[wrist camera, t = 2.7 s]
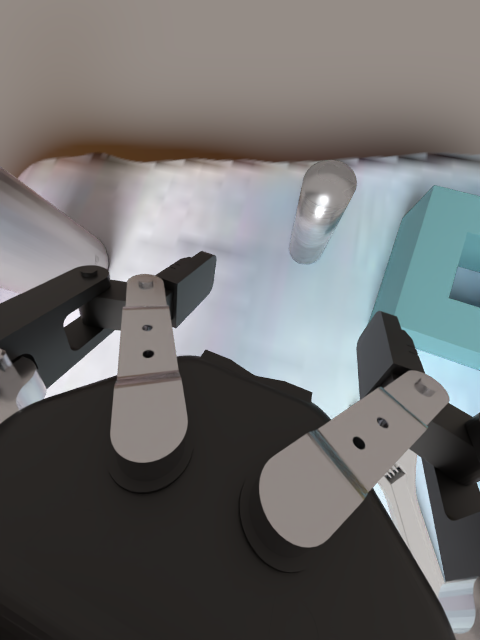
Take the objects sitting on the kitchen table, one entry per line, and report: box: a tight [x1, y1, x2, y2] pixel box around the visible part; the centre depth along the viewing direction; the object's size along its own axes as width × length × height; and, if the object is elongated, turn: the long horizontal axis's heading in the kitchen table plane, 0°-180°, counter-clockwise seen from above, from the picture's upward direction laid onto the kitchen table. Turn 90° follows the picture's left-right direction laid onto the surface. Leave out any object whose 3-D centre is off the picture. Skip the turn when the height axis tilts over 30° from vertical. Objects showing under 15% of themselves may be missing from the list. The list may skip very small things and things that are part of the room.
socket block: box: [369, 185, 480, 370], centre depth 22 cm, size 13×13×5 cm
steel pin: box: [289, 160, 357, 264], centre depth 22 cm, size 4×4×10 cm
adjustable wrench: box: [377, 449, 445, 598], centre depth 21 cm, size 25×6×2 cm, turn 8°
